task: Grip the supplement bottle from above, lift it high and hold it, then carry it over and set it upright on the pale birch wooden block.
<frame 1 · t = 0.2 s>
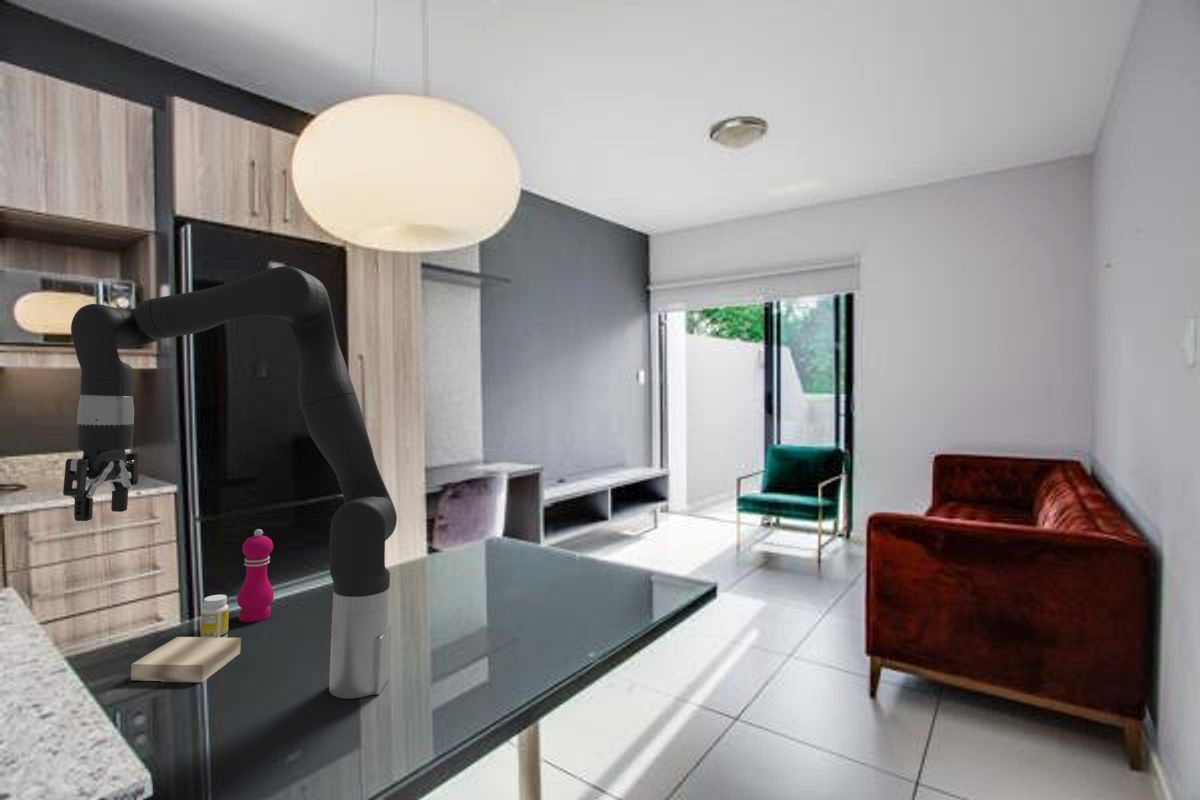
hand: (102, 515, 101), 29 cm above the table, tool pointing down, fingers open, 8 cm apart
supplement bottle: (213, 639, 121), on the table
pepper mill: (254, 618, 133), on the table
birch block: (188, 666, 108), on the table
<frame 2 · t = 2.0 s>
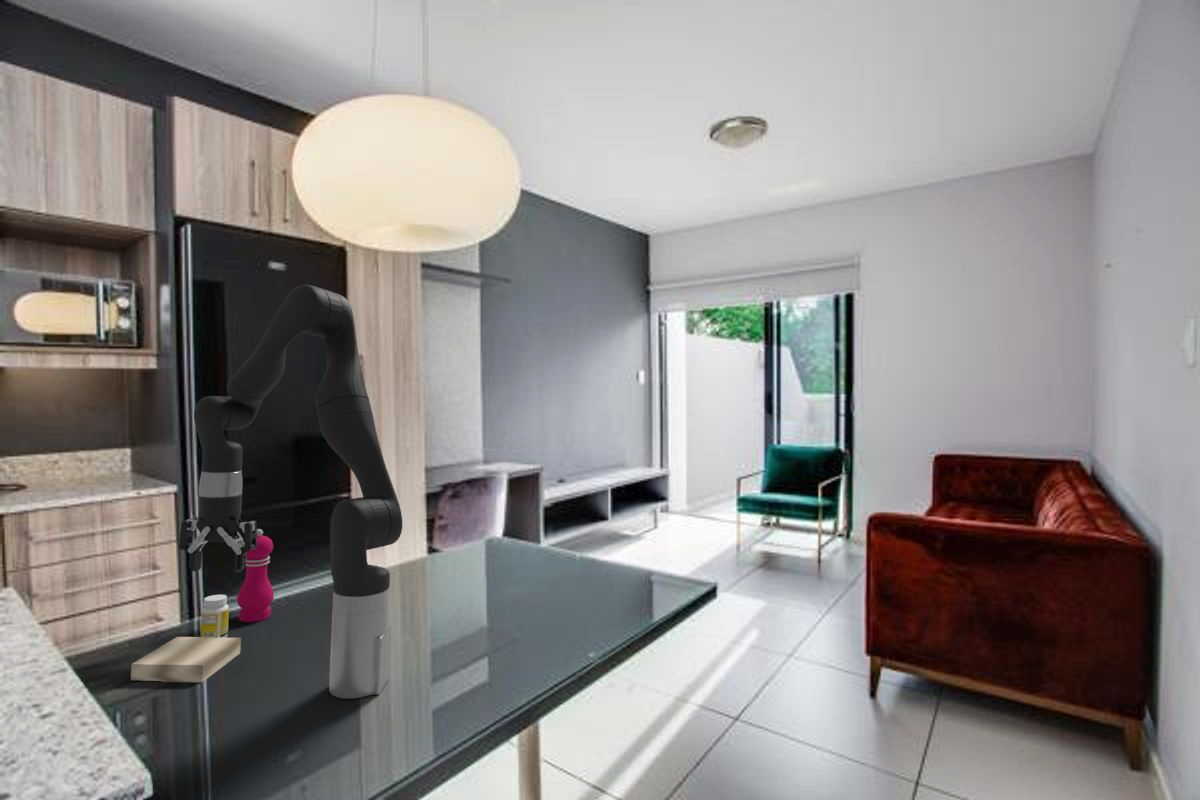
hand: (217, 570, 121), 14 cm above the table, tool pointing down, fingers open, 8 cm apart
nothing on the table moved.
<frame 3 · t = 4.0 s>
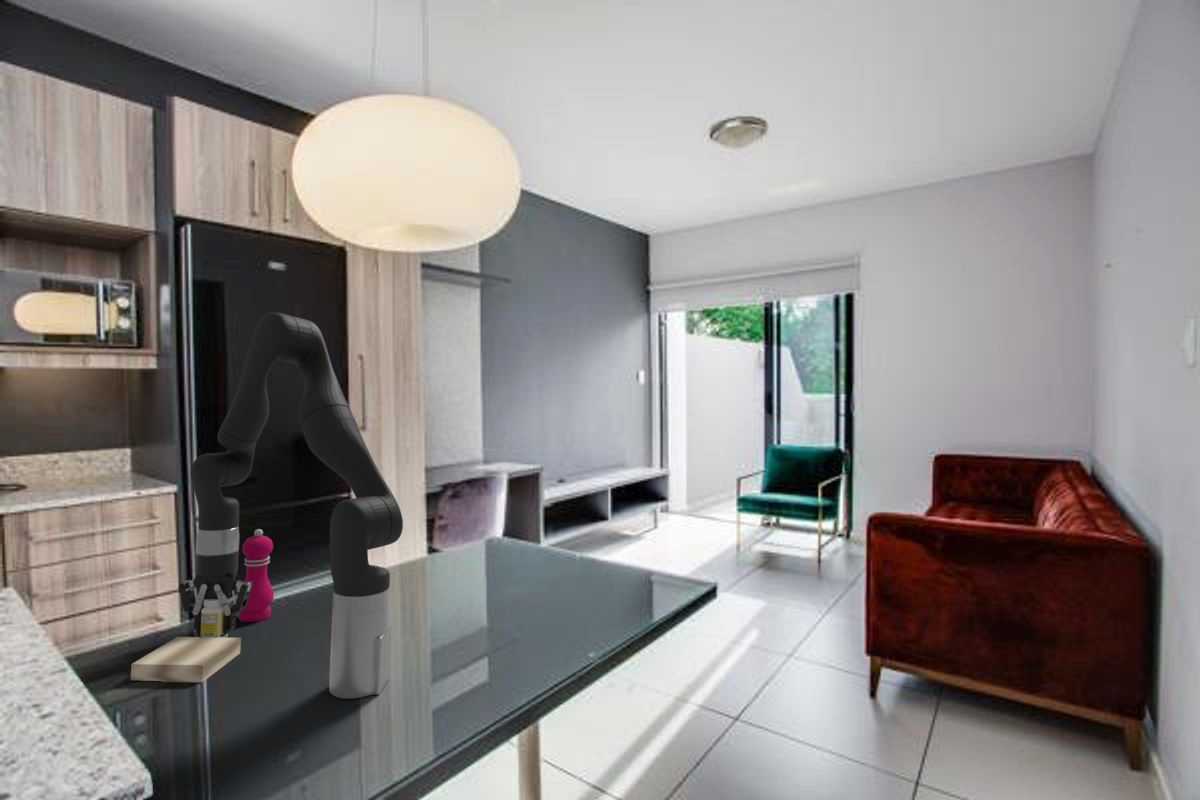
hand: (214, 631, 121), 1 cm above the table, tool pointing down, fingers closed on supplement bottle, 4 cm apart
supplement bottle: (214, 639, 121), on the table, touching gripper
everything else where it was.
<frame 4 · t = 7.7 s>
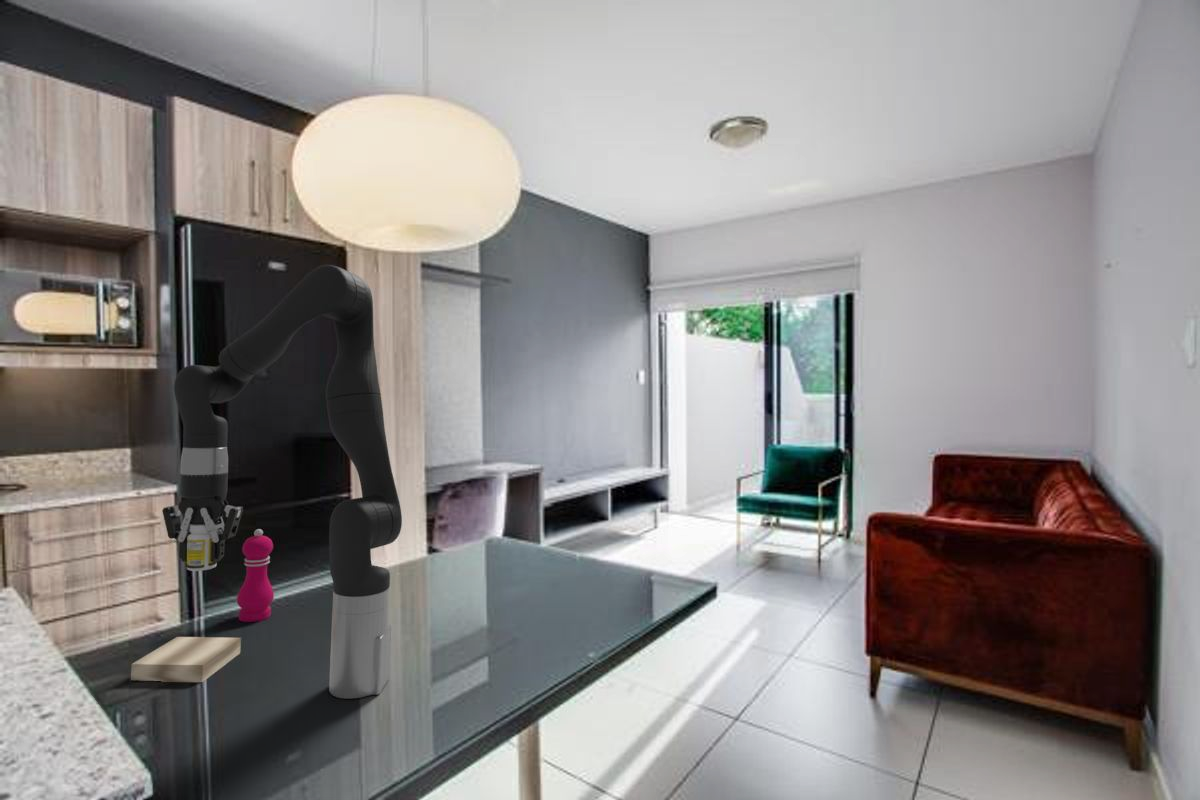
hand: (201, 560, 111), 19 cm above the table, tool pointing down, fingers closed on supplement bottle, 4 cm apart
supplement bottle: (201, 569, 111), point 17 cm above the table, touching gripper
everything else where it was.
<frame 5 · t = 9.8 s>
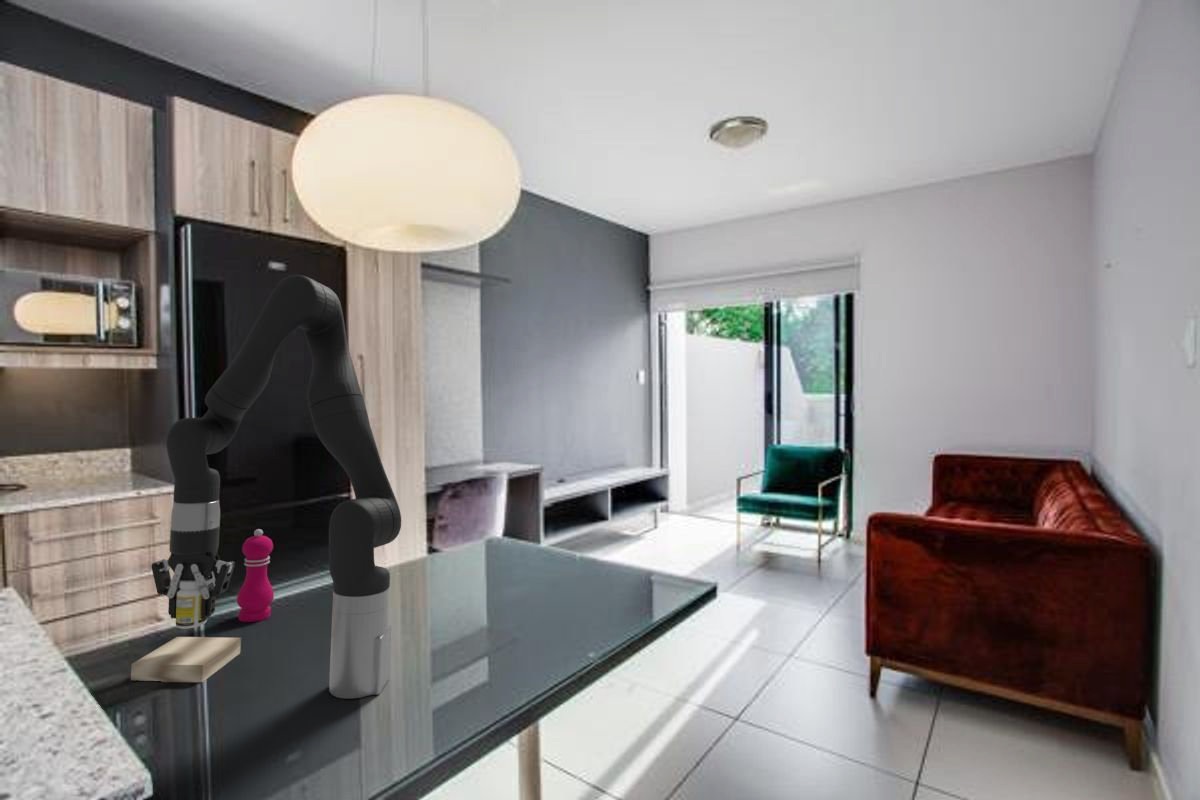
hand: (191, 616, 108), 9 cm above the table, tool pointing down, fingers closed on supplement bottle, 4 cm apart
supplement bottle: (191, 625, 108), point 8 cm above the table, touching gripper
everything else where it was.
when the fingers open (6 cm above the table, at t = 11.3 s): supplement bottle drops 1 cm, resting on birch block.
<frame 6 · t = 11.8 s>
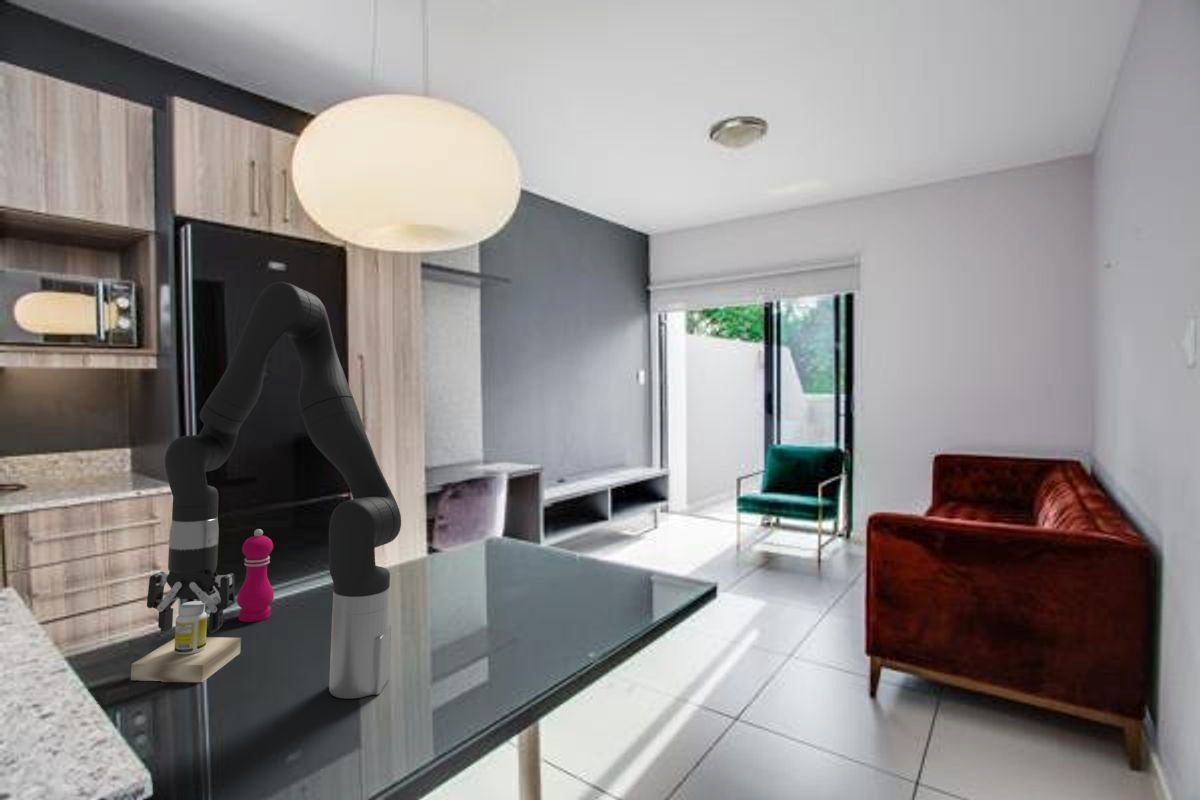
hand: (190, 630, 108), 7 cm above the table, tool pointing down, fingers open, 8 cm apart
supplement bottle: (189, 651, 108), point 3 cm above the table, touching birch block
everything else where it was.
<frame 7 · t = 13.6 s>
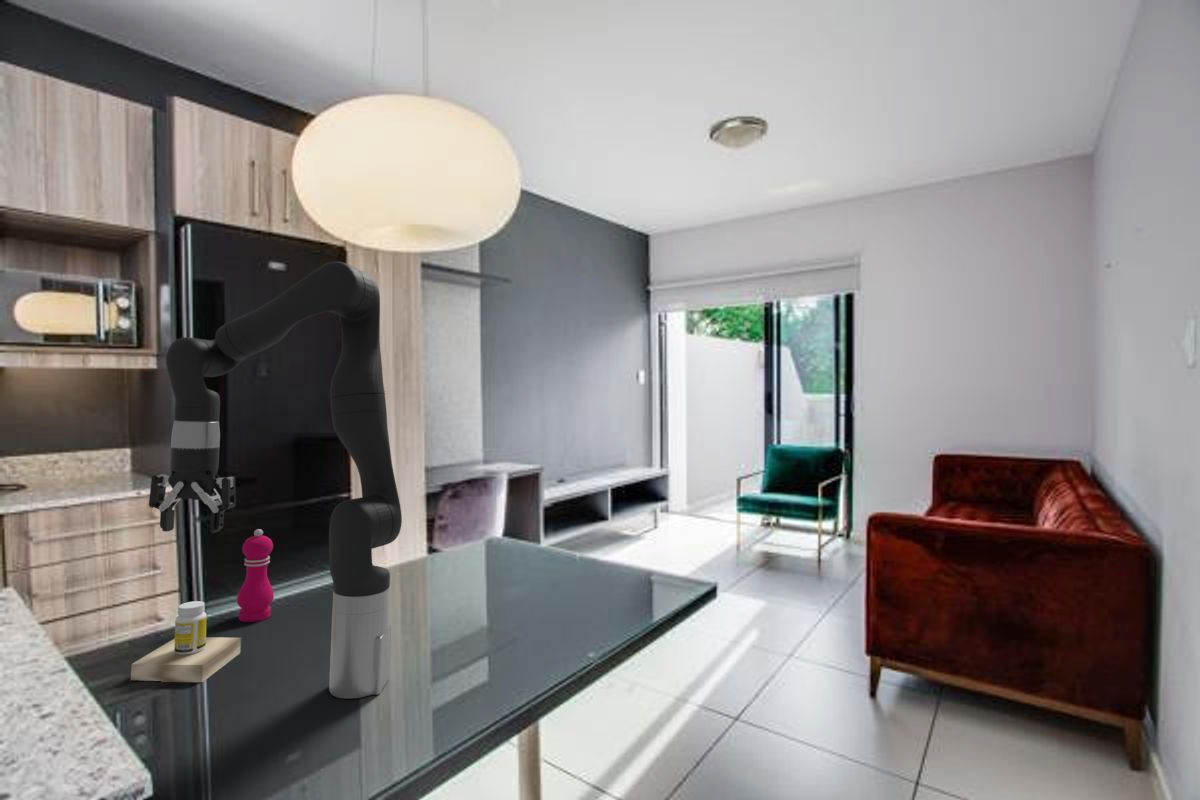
hand: (191, 531, 110), 25 cm above the table, tool pointing down, fingers open, 8 cm apart
nothing on the table moved.
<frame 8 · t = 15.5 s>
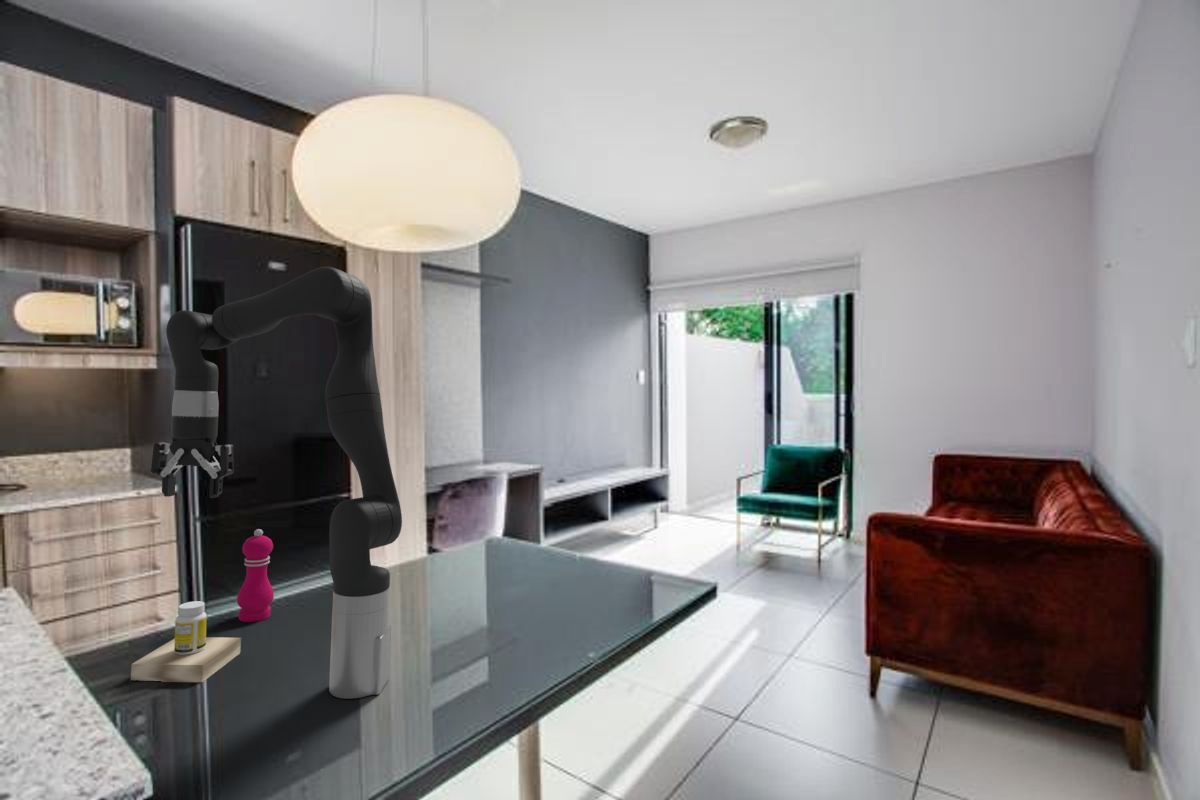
hand: (191, 496, 115), 30 cm above the table, tool pointing down, fingers open, 8 cm apart
nothing on the table moved.
at the end: supplement bottle inside the target area on the birch block (0.1 cm from its centre), point 2.8 cm above the birch block's base; supplement bottle tilted 0°; the gripper is holding nothing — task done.
